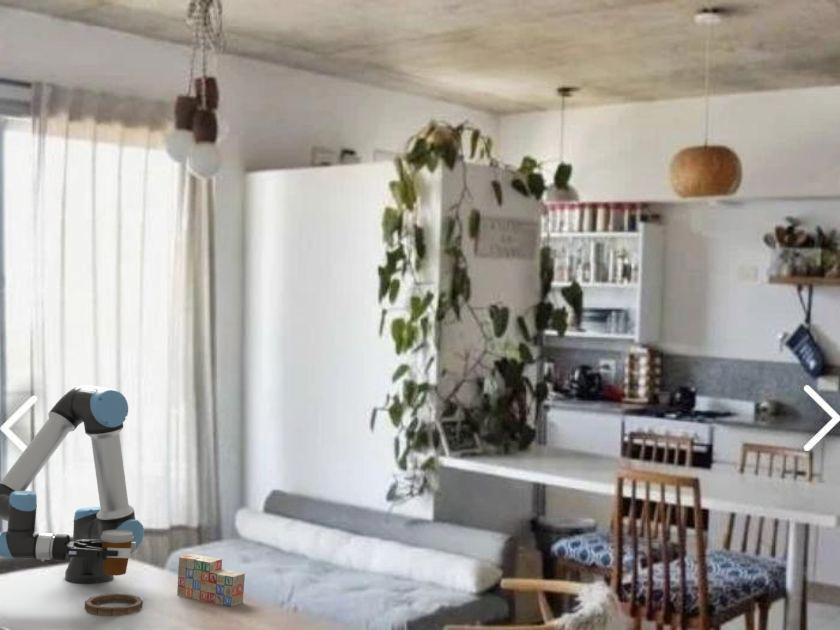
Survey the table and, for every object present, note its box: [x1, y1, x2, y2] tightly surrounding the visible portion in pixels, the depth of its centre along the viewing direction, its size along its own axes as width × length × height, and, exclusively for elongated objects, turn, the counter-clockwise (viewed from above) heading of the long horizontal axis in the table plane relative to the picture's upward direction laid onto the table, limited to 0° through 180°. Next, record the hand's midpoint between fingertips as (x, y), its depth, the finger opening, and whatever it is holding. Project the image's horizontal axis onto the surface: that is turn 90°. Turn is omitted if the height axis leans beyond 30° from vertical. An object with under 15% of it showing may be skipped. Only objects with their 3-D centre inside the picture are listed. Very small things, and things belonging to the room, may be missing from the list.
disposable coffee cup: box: [101, 530, 134, 577], centre depth 308 cm, size 10×10×12 cm
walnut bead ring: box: [84, 593, 144, 617], centre depth 308 cm, size 16×16×2 cm
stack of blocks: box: [176, 553, 246, 608], centre depth 324 cm, size 21×6×12 cm, turn 62°
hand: (132, 550), depth 309 cm, fingers closed on disposable coffee cup, 8 cm apart
